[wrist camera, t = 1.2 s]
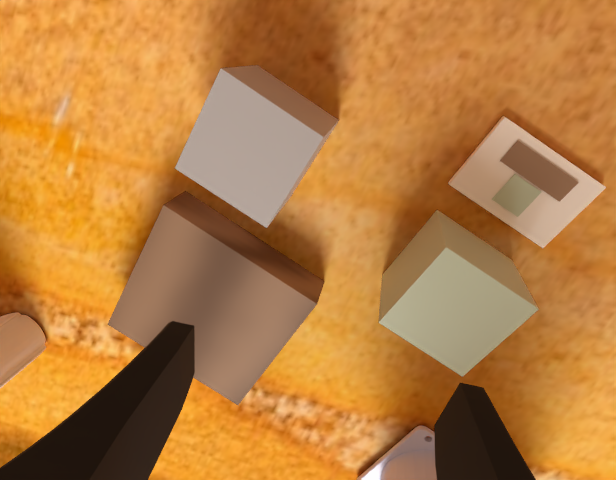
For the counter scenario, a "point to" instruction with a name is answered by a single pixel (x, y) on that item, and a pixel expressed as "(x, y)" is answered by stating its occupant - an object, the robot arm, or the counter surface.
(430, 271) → the sage cube
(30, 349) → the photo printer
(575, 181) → the card
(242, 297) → the walnut slab
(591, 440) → the counter surface
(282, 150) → the grey cube
